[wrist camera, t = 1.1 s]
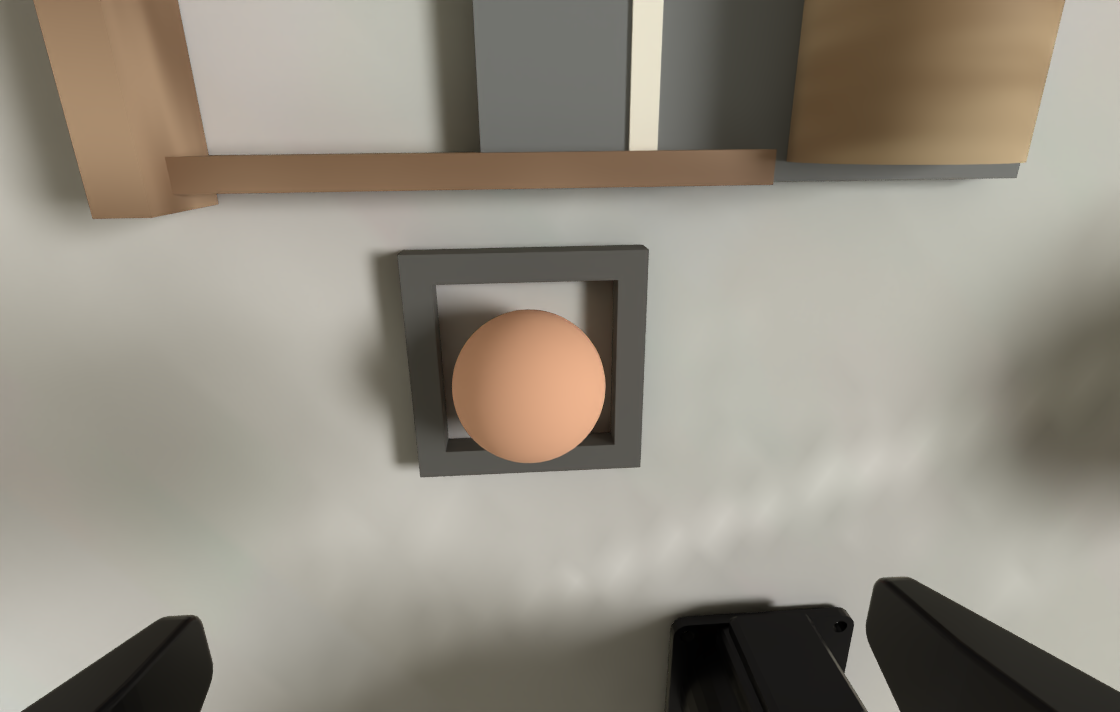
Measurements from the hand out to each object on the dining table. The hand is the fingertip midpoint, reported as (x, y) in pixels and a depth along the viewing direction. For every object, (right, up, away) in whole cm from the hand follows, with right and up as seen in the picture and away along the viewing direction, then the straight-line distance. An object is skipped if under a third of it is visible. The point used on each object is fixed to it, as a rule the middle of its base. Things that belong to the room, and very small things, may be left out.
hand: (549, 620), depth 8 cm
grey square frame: (-1, +3, +10) cm, 10 cm away
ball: (-1, +3, +10) cm, 10 cm away
